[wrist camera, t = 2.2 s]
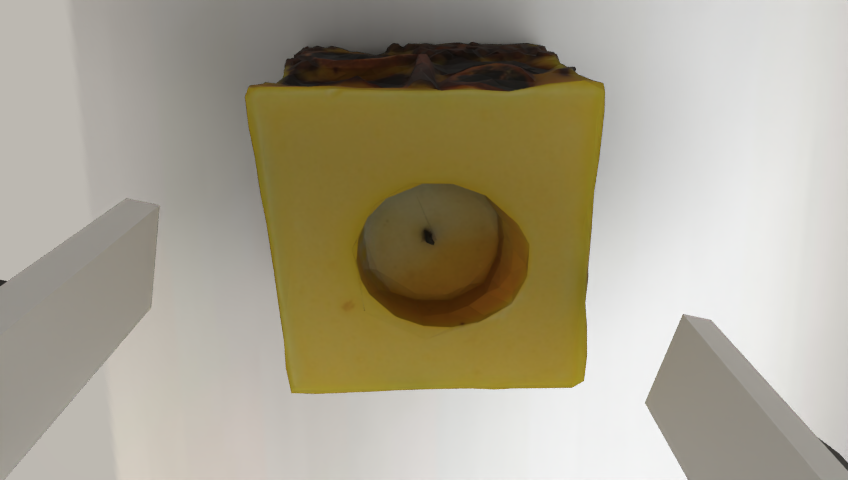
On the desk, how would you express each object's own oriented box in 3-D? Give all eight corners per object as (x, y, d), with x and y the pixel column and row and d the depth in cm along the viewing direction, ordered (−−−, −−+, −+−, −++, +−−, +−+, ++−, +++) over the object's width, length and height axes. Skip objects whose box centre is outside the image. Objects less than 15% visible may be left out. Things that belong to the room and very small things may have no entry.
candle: (299, 45, 26) (229, 77, 16) (545, 37, 26) (615, 65, 16) (321, 270, 30) (275, 399, 20) (536, 264, 29) (587, 391, 20)
